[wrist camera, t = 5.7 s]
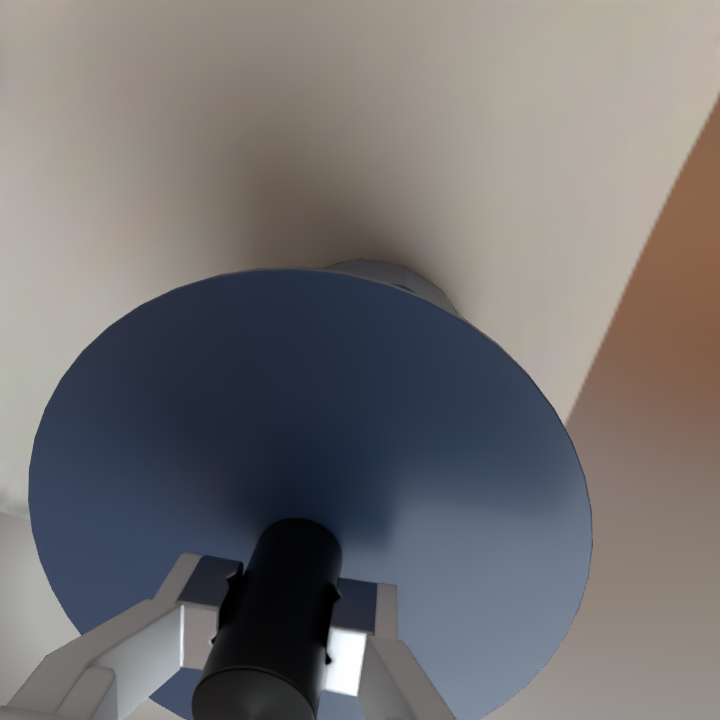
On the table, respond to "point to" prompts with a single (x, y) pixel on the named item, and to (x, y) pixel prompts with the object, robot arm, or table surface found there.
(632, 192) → the table surface
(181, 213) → the table surface
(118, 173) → the table surface
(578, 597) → the pot lid
